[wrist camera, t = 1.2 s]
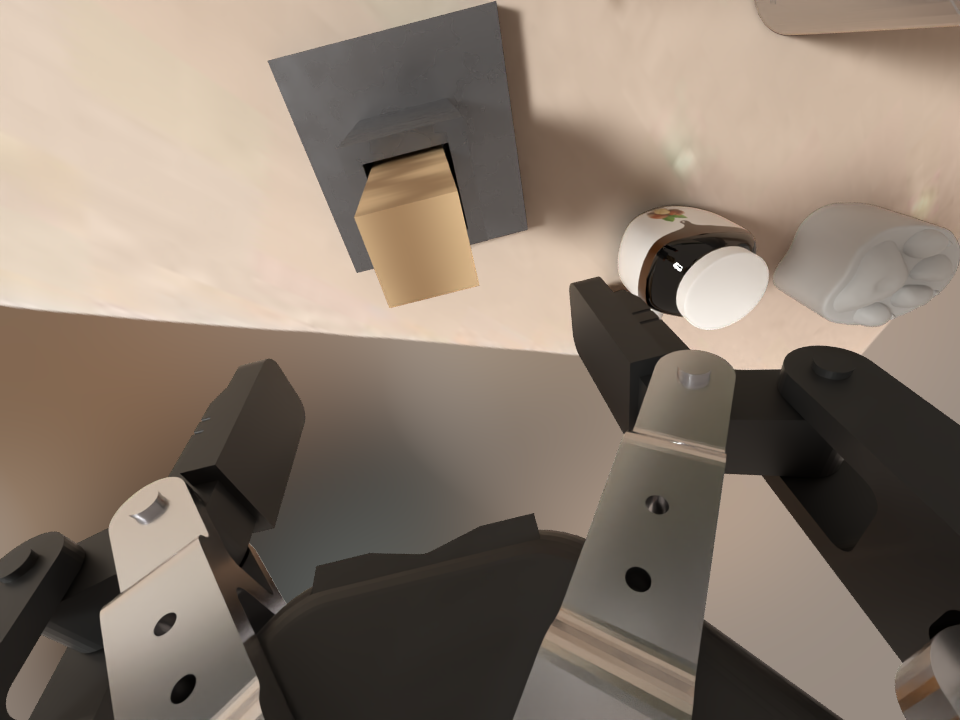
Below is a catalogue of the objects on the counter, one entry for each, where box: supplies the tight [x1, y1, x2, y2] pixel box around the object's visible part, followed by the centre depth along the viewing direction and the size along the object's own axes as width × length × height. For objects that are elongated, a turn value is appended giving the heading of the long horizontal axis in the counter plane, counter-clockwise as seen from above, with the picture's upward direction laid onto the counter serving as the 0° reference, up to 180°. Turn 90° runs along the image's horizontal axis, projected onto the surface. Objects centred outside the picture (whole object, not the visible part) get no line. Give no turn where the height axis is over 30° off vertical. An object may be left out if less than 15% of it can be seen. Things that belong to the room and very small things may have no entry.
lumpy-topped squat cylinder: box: [773, 203, 960, 327], centre depth 42 cm, size 10×13×9 cm
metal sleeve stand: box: [268, 1, 528, 273], centre depth 29 cm, size 16×16×14 cm
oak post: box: [354, 144, 479, 308], centre depth 25 cm, size 4×4×20 cm
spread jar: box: [618, 206, 769, 330], centre depth 39 cm, size 12×11×12 cm
